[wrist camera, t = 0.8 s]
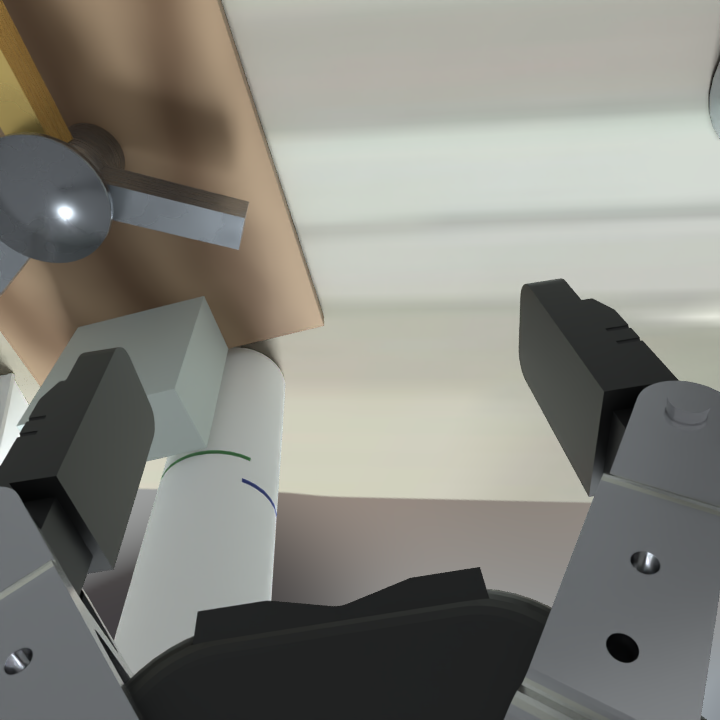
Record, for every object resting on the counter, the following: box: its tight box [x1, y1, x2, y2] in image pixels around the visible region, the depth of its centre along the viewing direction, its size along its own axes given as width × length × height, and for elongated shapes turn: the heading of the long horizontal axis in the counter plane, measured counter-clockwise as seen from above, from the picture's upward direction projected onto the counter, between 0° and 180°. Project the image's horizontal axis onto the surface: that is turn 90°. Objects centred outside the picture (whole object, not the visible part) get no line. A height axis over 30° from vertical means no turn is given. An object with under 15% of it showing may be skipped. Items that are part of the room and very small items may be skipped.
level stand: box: [16, 296, 228, 461], centre depth 36 cm, size 10×4×10 cm, turn 103°
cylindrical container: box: [114, 347, 285, 675], centre depth 34 cm, size 7×7×25 cm
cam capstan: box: [0, 0, 249, 296], centre depth 29 cm, size 16×14×7 cm
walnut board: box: [0, 0, 324, 387], centre depth 35 cm, size 21×24×1 cm
